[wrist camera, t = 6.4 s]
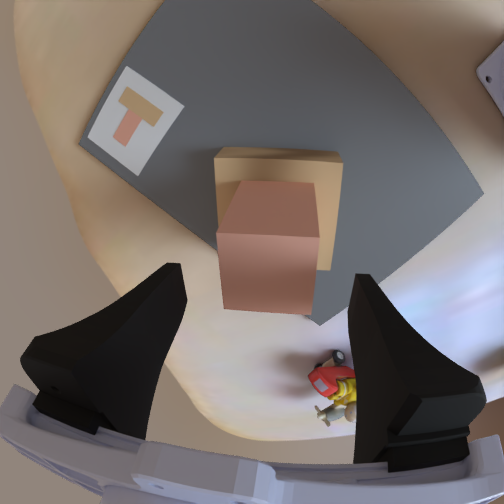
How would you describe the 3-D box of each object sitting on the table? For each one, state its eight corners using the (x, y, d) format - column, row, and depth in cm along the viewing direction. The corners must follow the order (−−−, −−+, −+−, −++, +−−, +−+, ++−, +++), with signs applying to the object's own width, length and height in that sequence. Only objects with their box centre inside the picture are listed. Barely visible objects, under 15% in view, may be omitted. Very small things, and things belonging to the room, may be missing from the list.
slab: (337, 151, 18) (343, 163, 16) (327, 249, 22) (330, 270, 20) (223, 147, 19) (213, 157, 17) (228, 243, 23) (221, 263, 21)
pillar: (313, 182, 17) (319, 237, 12) (309, 245, 19) (311, 314, 14) (241, 180, 17) (216, 232, 12) (243, 242, 20) (223, 308, 15)
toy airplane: (307, 347, 29) (305, 404, 24) (400, 335, 27) (413, 391, 21) (316, 396, 33) (314, 444, 28) (393, 387, 31) (400, 435, 26)
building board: (479, 189, 18) (485, 194, 17) (319, 319, 27) (319, 327, 26) (219, -53, 12) (215, -58, 11) (84, 141, 21) (77, 144, 20)
